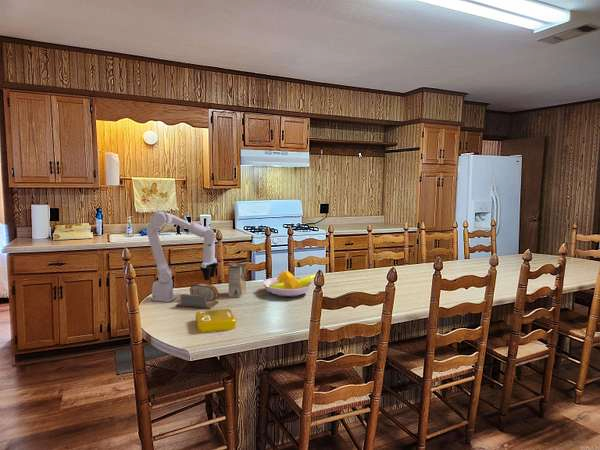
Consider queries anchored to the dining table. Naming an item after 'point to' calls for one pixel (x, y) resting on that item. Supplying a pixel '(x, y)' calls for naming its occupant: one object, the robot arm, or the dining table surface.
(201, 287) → the tin
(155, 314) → the dining table surface
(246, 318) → the dining table surface
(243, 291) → the coffee box
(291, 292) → the fruit bowl
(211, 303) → the shelf board
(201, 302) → the bookend
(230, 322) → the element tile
